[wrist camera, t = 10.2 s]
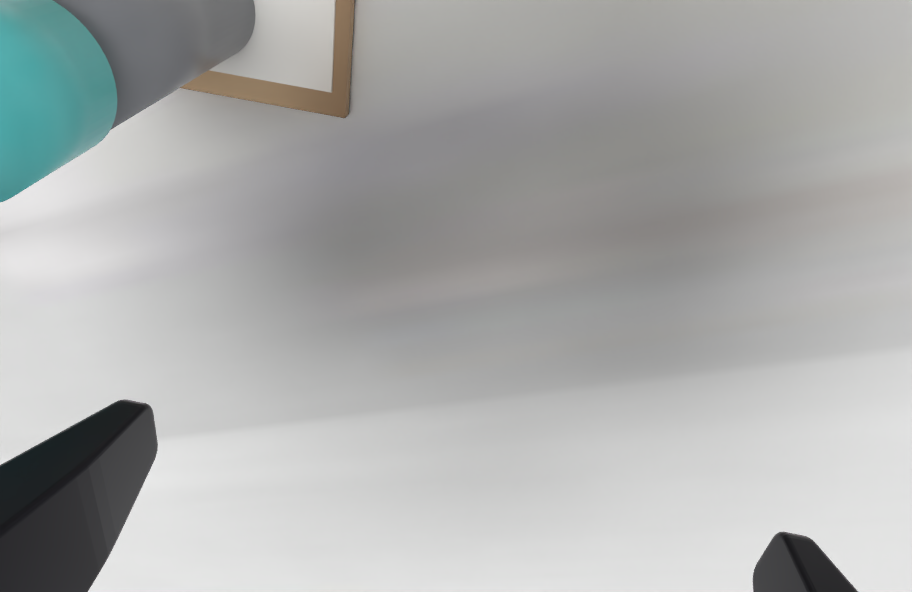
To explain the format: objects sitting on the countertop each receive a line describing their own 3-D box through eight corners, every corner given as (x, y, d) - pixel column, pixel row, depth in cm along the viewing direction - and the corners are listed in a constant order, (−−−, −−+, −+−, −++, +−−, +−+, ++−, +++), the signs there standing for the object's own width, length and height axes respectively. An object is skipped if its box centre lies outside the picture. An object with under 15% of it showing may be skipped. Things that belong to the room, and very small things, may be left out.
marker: (257, -47, 18) (9, 34, 10) (260, 70, 19) (50, 219, 11) (144, -67, 18) (-190, -3, 10) (157, 52, 19) (-121, 187, 12)
